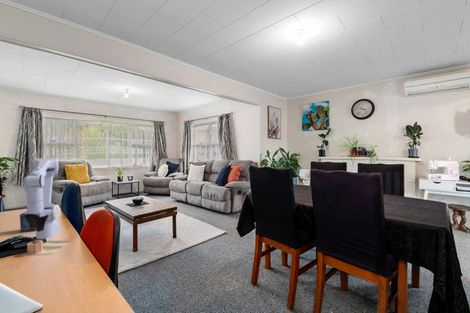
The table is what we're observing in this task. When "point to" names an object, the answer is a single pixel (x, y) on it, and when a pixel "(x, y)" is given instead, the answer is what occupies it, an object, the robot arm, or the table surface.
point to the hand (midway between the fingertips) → (36, 229)
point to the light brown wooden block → (34, 247)
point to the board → (49, 247)
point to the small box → (25, 224)
